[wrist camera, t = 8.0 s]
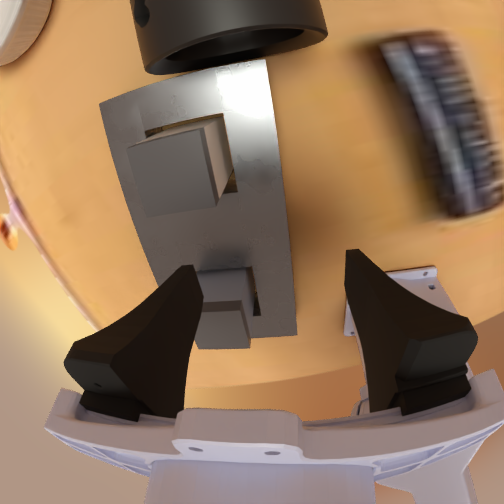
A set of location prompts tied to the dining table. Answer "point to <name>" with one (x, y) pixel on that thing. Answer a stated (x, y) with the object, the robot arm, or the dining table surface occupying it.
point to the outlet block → (234, 194)
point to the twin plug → (226, 308)
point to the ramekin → (20, 26)
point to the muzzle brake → (222, 31)
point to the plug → (182, 167)
